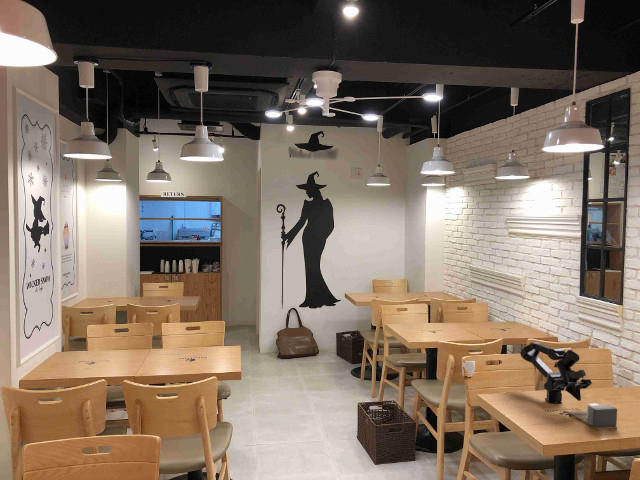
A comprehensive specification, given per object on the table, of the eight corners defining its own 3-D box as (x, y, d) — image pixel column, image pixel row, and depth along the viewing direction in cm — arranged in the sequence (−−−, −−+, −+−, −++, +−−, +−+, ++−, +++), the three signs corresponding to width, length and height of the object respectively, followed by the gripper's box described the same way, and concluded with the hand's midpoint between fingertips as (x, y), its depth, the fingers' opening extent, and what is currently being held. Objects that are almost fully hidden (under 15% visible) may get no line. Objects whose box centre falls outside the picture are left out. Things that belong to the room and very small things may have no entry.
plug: (586, 418, 241) (587, 403, 241) (595, 417, 242) (596, 403, 242) (596, 423, 235) (597, 408, 235) (605, 423, 236) (606, 408, 236)
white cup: (475, 375, 312) (476, 359, 311) (473, 378, 305) (474, 362, 304) (462, 373, 315) (463, 357, 315) (460, 376, 308) (460, 360, 308)
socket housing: (587, 422, 236) (588, 405, 236) (608, 421, 238) (608, 404, 238) (595, 427, 231) (596, 409, 231) (616, 425, 234) (617, 408, 233)
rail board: (567, 413, 250) (567, 411, 250) (584, 412, 253) (584, 410, 253) (598, 430, 230) (598, 428, 230) (617, 429, 233) (617, 426, 233)
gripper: (557, 364, 252) (571, 394, 241) (590, 363, 255) (605, 392, 245) (546, 374, 260) (559, 404, 249) (578, 373, 264) (592, 402, 253)
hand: (579, 400), depth 249 cm, fingers closed
